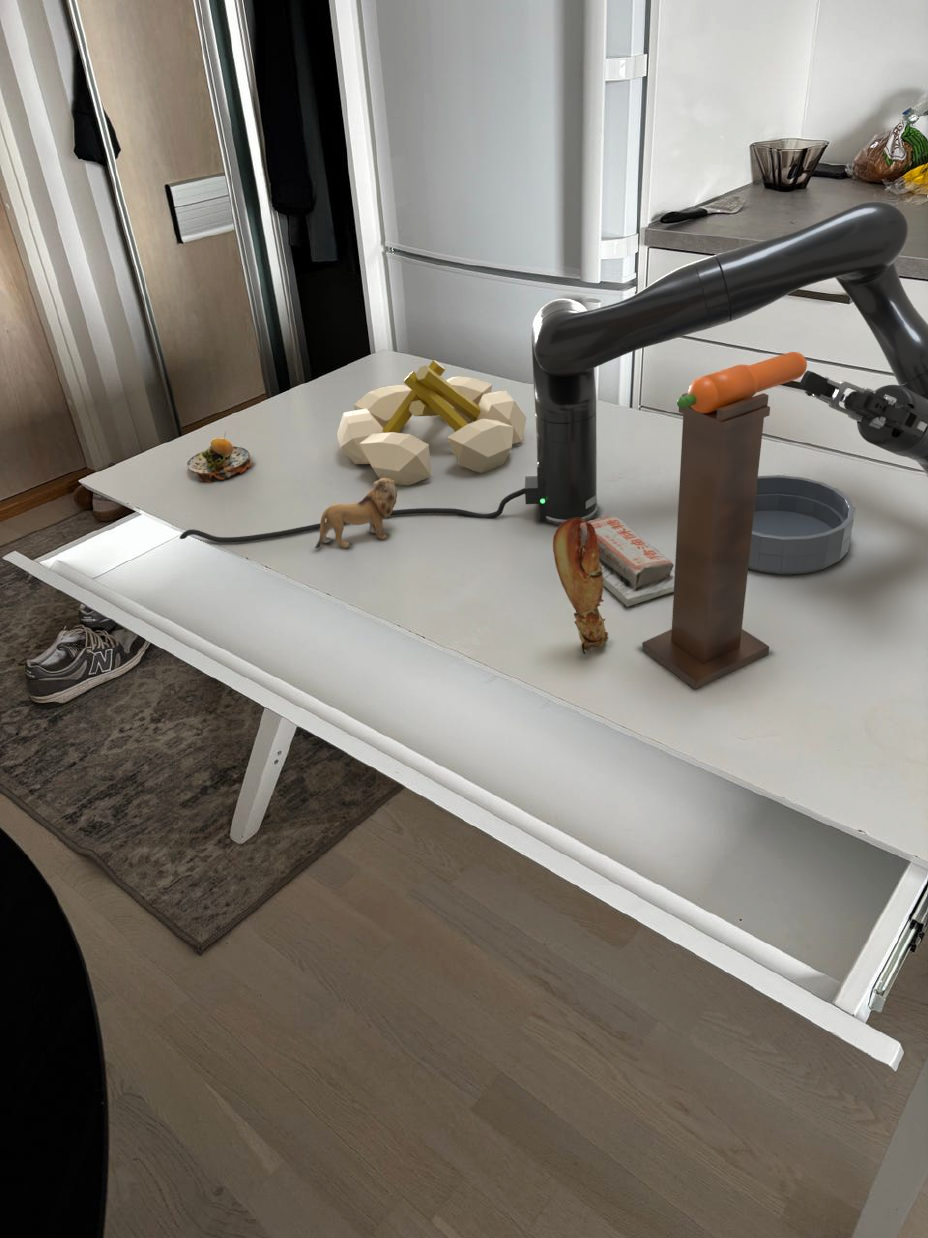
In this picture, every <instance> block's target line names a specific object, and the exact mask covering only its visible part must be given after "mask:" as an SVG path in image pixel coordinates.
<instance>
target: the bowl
mask: <svg viewBox="0 0 928 1238" xmlns="http://www.w3.org/2000/svg"><path fill="white" fill-rule="evenodd" d="M855 514H856V507H855V505H854V504H853V501H852V499H851V498H850V497H849V496H848V495H846V494H845V493H844V492H842V491H841V490H840V489H839V488H837V487H834V486H833V485H829V484H827V483H825V482H823V481H819V480H815V479H811V478H807V477H803V476H794V475H793V476H792V475H783V474H774V475H773V474H772V475H758V480H757V489H756V499H755V508H754V518H753V527H752V537H751V546H750V556H749V565H748V570H751V571H755V572H758V573H759V572H760V573H765V574H771V575H802V574H809V573H814V572H818V571H821V570H824V569H826V568H828V567H829V568H830V567H831V566H832V565H834V564H836V563H838V562H839V561H841V559H843V557H844V556H845V555H846V554H847V553H848V552H849V548H850V543H851V537H852V532H853V526H854V519H855Z"/></svg>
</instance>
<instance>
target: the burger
mask: <svg viewBox="0 0 928 1238" xmlns="http://www.w3.org/2000/svg"><path fill="white" fill-rule="evenodd" d="M226 433H227V430H225V433H224V434H226ZM225 437H226V435H224V437H215V438H212V439H211V441H210V446H208V448H207V449H206V450H204V451H201V452H199V453H197V454H195V455H193V456H192V457H191V458H190V459H189V460H188V461H187V469H188V470H189V472H190V473H192V474H196V475H198V478H199V480H200V482H202V483H204V482H206V483H211V482H212V479H211V478H212V476H214V477H215V478H216V479H218V480H226V479H230V477H231V476H232V475H236V474H237V473H240V474H243V472H245V471H246V470H247V469H249V468H251V466H252V463H253V461H252V458H251V456H250V452H249V450H247V449H246V448H243V447H241V446H240V447H239V446H233V444H232V443H231V441H230V440H228V439H227V438H225Z"/></svg>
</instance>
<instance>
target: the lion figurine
mask: <svg viewBox="0 0 928 1238" xmlns="http://www.w3.org/2000/svg"><path fill="white" fill-rule="evenodd" d="M397 498H398V489H397V487H396V484H395V481H394V480H391V479H387V478H381V479H379V478H378V480H375V481H374V482H373V483H372V488H371V489H370V490H369V491H368V492H367V494H366V495H365V496H364V497H363V498H362V500H360V501H358V502H353V503H334V504H331V505H329V506H328V507H327V508H325V510H324V511H323V512H322V515H321V517H320V522H319V523H320V529H319V539H318V541H317V543H316V545H315V547H314V549H319V548H321V546H322V543H326V544H327V543H330V542H331V540H332V539H331V537H328V536H327V535H328V534H329V532H330V531H331V530H332V529H333V531H334V533H335V538H334V539H335V542H337V543H338V544H339V545H340V546H341V547H342V548H343V549H348V548H350V546H351V545H350V543H349V542H348V541H344V540H343V531H344V528H345V525H344V522H345V524H348V525H351V526H362V525H365V524H369V530H370V532H371V533H372V534H376V536H377V537H378V539H379V540H386V539H387V537H388V536H387V534H386V533H383V527H384V526H383V525H384V524H383V523H384V522H383V520H384V519H386V518H388V517H391V516H390V514H391V513H392V511H393V510H394V508H395V506H396V504H397ZM325 522H326V524H325ZM324 524H325V526H324Z"/></svg>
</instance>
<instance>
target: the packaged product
mask: <svg viewBox="0 0 928 1238" xmlns="http://www.w3.org/2000/svg"><path fill="white" fill-rule="evenodd" d="M588 522H589V523H591V524H592V525H593V527H594V529H595V532H596V535H597V540H598V550H599V563H600V566H601V567H602V573H603V587H605V588H606V589H607V590H608V591H609V592H610V593H611V594H613V595H614V596H615V597H616V598H617V599H618V600H619V601H620V602H621V603H622V604H624V605H625V606H626V607H627V608H629V607H631V606H635V605H638V604H639V603H643V602H646V601H648V600H651V599H654V598H657V597H660V596H664V595H667V594H670V593H674V578H675V569H673V568H675V564H674V563H673V562H672V561H671V560H670V559H668V558H667V557H666V556H665V555H664V554H662V552H660V551H659V550H657V549H656V548H655V547H654V546H652V545H651V544H650V543H649V542H647V541H646V540H645V538H643V537H642V536H641V535H639V534H638V533H636V532H635V530H633V529H632V528H631V527H630V526H628V525H627V524H626V523H625V522H624V521H623V520H622V519H620V518H618V517H617V516H613V515H605V516H601V517H599V518H595V519H591V520H589V521H588ZM580 527H581V529H582V535H581V541H582V542H583V543H584V547H583V548H584V549H586V543H585V539H586V538H587V527H586V524H585V523H581V525H580Z"/></svg>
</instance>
